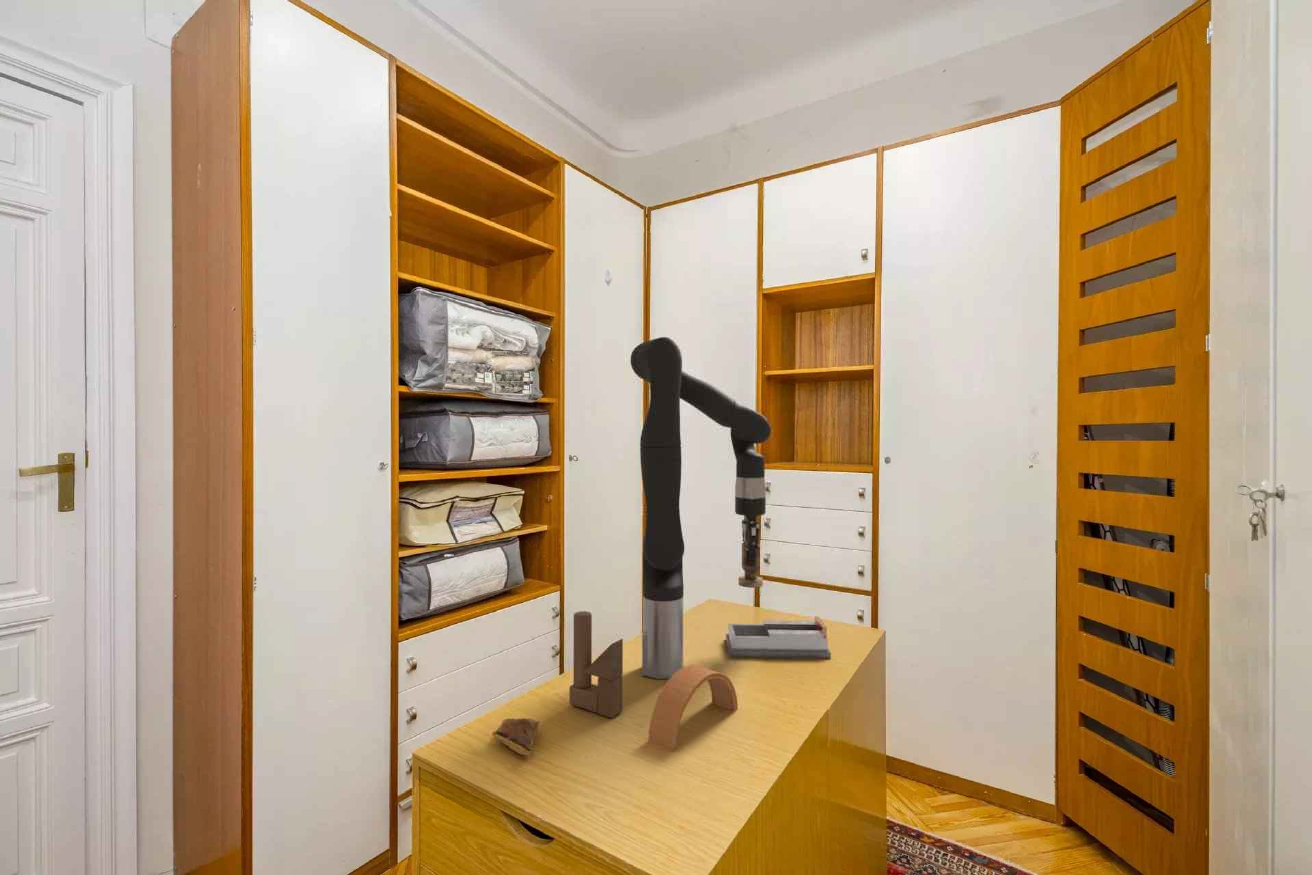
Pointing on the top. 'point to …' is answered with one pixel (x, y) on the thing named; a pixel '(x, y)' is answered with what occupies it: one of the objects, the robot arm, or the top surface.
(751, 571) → the headed peg
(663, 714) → the arch
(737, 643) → the track
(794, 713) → the top surface
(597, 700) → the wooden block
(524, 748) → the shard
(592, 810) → the top surface
